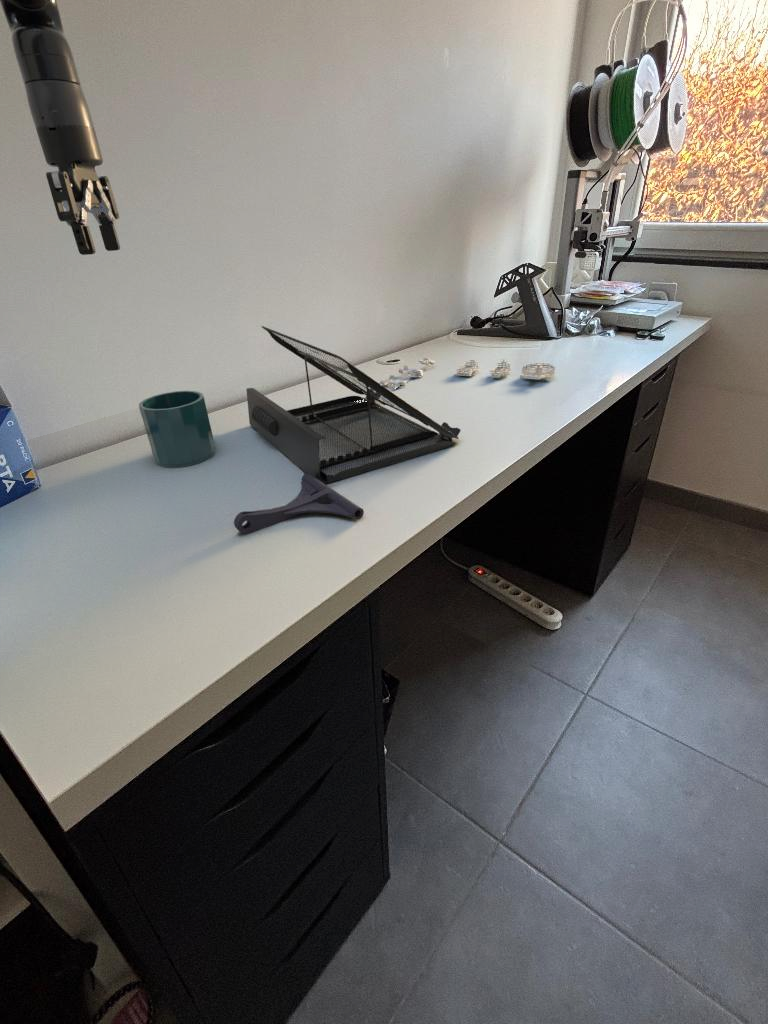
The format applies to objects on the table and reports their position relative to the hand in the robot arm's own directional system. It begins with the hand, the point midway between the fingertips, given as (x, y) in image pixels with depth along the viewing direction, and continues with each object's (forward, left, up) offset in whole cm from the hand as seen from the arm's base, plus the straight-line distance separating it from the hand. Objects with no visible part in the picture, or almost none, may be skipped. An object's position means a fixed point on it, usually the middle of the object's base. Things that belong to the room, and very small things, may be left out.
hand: (101, 252), depth 83 cm
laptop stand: (+36, -1, -32) cm, 48 cm away
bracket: (+30, -30, -32) cm, 53 cm away
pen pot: (+8, -7, -32) cm, 34 cm away
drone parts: (+62, +28, -32) cm, 75 cm away
